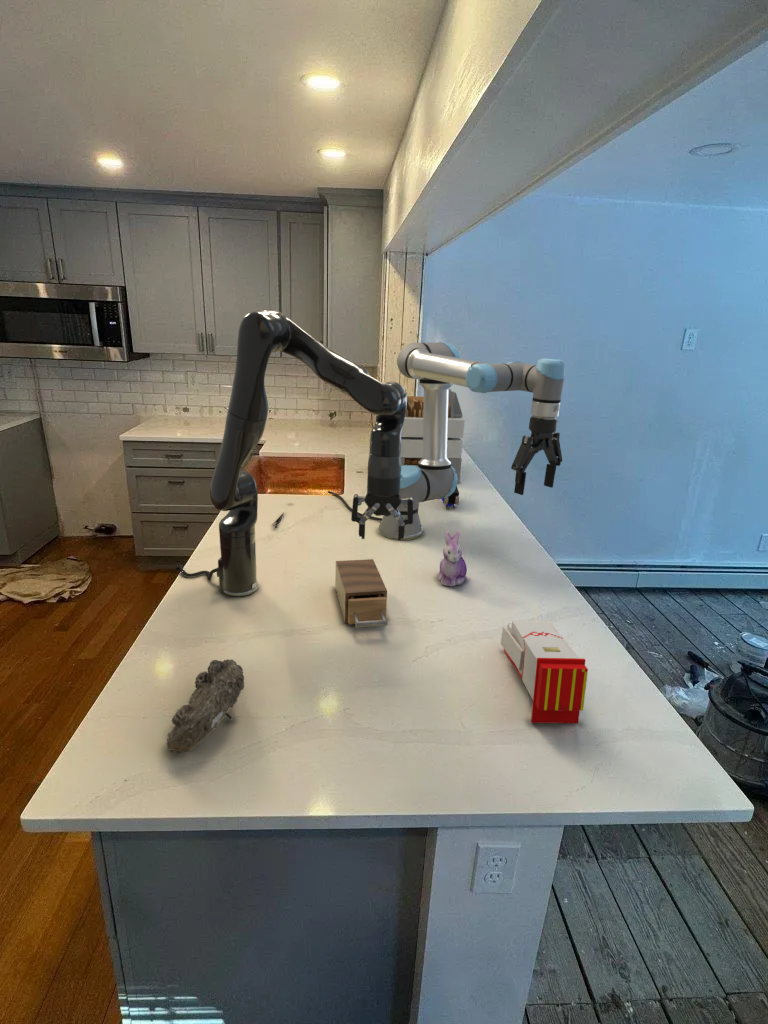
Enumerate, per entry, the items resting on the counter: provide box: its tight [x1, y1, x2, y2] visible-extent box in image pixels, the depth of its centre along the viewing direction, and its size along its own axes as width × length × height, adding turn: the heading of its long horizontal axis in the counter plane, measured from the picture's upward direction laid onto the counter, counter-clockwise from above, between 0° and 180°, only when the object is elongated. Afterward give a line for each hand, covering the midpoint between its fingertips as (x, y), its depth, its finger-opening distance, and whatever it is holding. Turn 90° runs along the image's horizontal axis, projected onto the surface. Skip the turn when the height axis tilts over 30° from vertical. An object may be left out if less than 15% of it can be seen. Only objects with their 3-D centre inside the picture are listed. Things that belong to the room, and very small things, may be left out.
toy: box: [500, 620, 589, 724], centre depth 121 cm, size 12×13×30 cm
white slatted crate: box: [401, 388, 465, 484], centre depth 268 cm, size 34×33×41 cm
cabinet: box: [334, 558, 388, 624], centre depth 151 cm, size 19×11×8 cm, turn 12°
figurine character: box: [441, 485, 460, 509], centre depth 231 cm, size 7×8×15 cm
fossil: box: [166, 658, 245, 754], centre depth 106 cm, size 22×10×15 cm
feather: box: [273, 503, 291, 529], centre depth 211 cm, size 2×28×2 cm
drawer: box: [347, 594, 388, 628], centre depth 145 cm, size 23×9×6 cm, turn 12°
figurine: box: [438, 530, 468, 587], centre depth 165 cm, size 9×10×15 cm
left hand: (381, 538), depth 134 cm, fingers open, 8 cm apart
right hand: (533, 490), depth 164 cm, fingers open, 13 cm apart
